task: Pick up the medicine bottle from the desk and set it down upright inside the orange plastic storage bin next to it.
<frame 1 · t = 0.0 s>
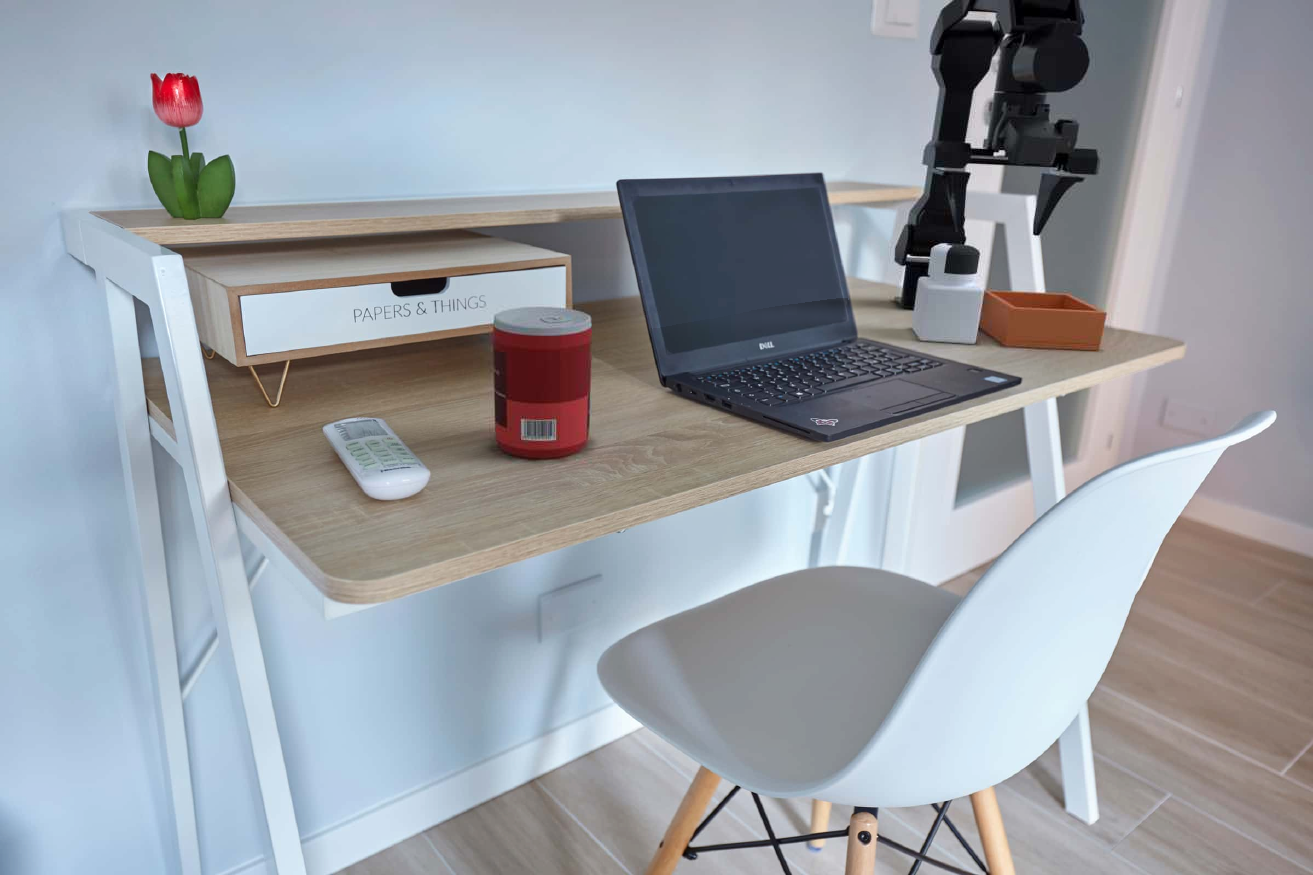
hand: (997, 233, 110), 15 cm above the table, tool pointing down, fingers open, 9 cm apart
medicine bottle: (942, 337, 123), on the table
canned food: (542, 446, 79), on the table
bin: (1034, 337, 125), on the table
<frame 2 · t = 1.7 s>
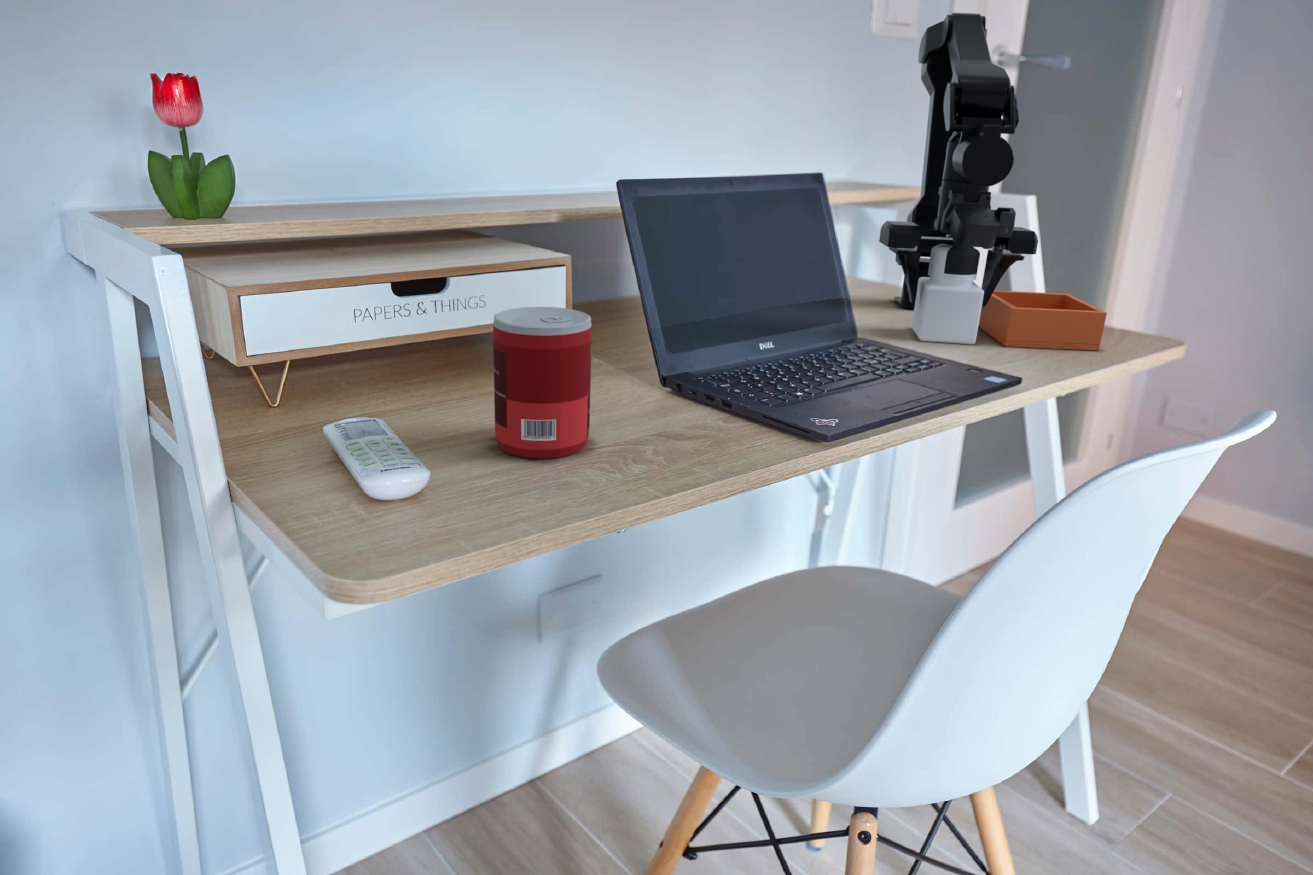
hand: (947, 304, 121), 4 cm above the table, tool pointing down
medicine bottle: (942, 338, 123), on the table, touching gripper
everything else where it was.
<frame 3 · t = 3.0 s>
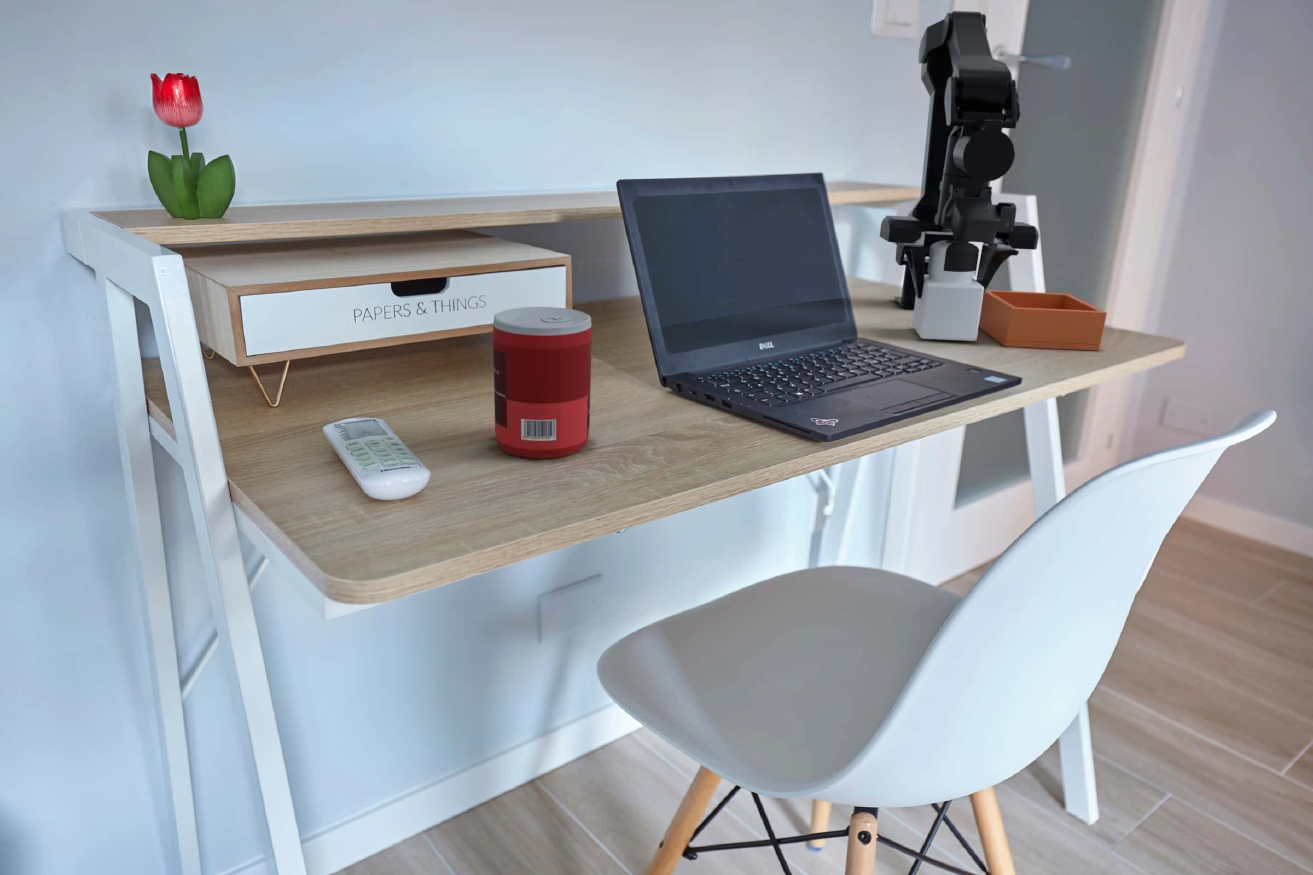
hand: (947, 299, 121), 5 cm above the table, tool pointing down, fingers closed on medicine bottle, 7 cm apart
medicine bottle: (943, 335, 123), on the table, touching gripper
everything else where it was.
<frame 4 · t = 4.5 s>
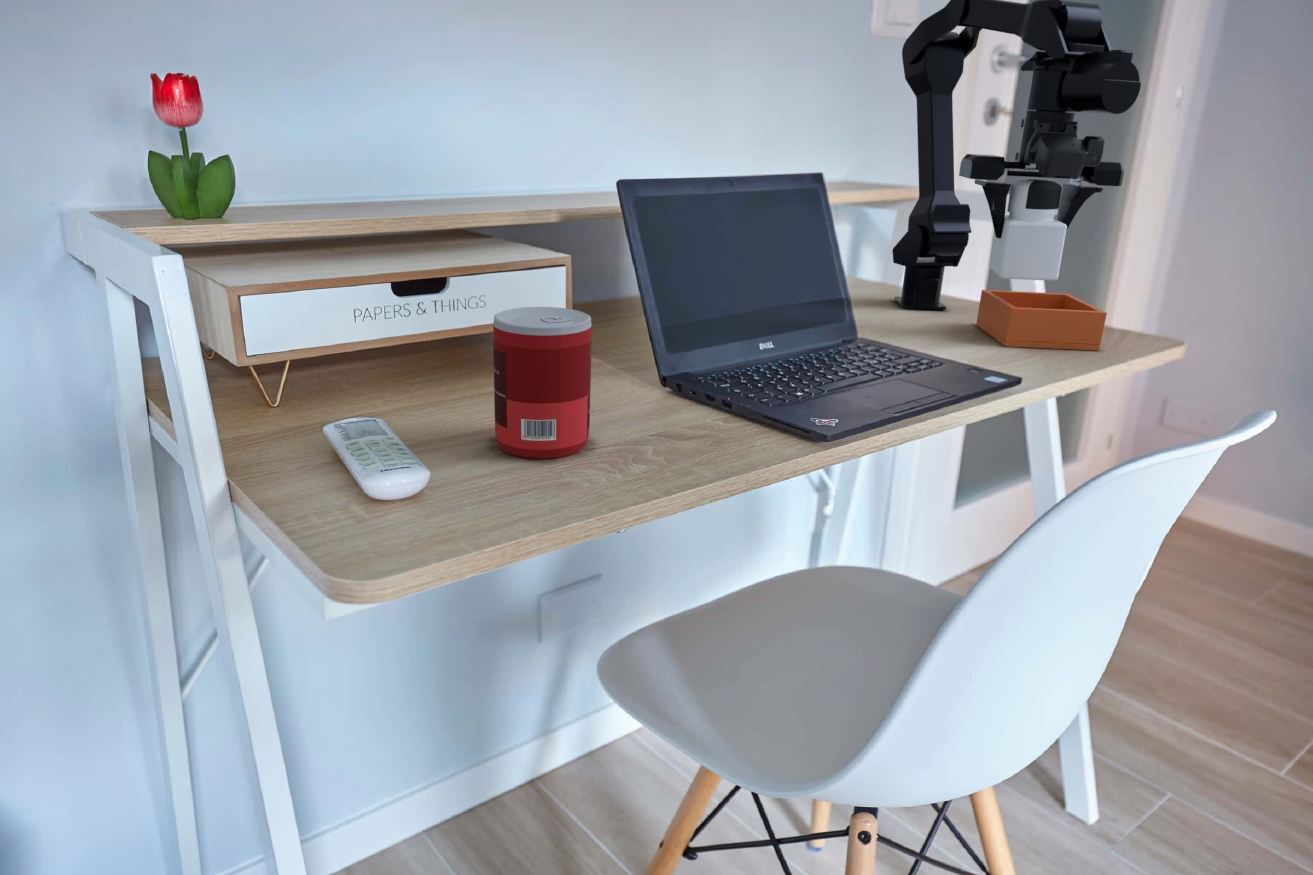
hand: (1027, 239, 120), 13 cm above the table, tool pointing down, fingers closed on medicine bottle, 7 cm apart
medicine bottle: (1022, 276, 122), point 8 cm above the table, touching gripper
everything else where it was.
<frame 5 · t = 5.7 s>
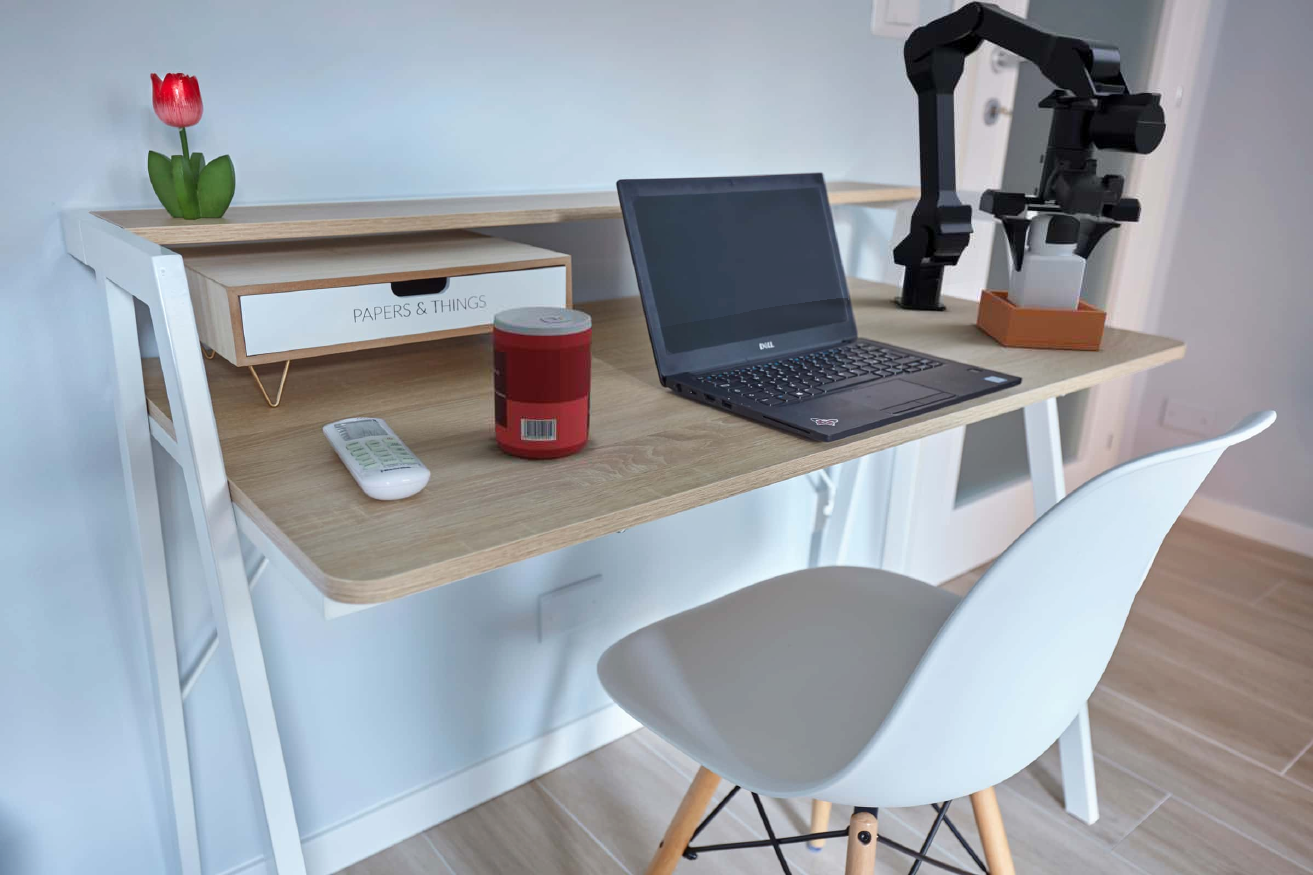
hand: (1046, 272, 122), 9 cm above the table, tool pointing down, fingers closed on medicine bottle, 7 cm apart
medicine bottle: (1040, 308, 124), point 4 cm above the table, touching gripper
everything else where it was.
when the fingers open (6 cm above the table, at t = 7.0 s): medicine bottle stays where it is, resting on bin.
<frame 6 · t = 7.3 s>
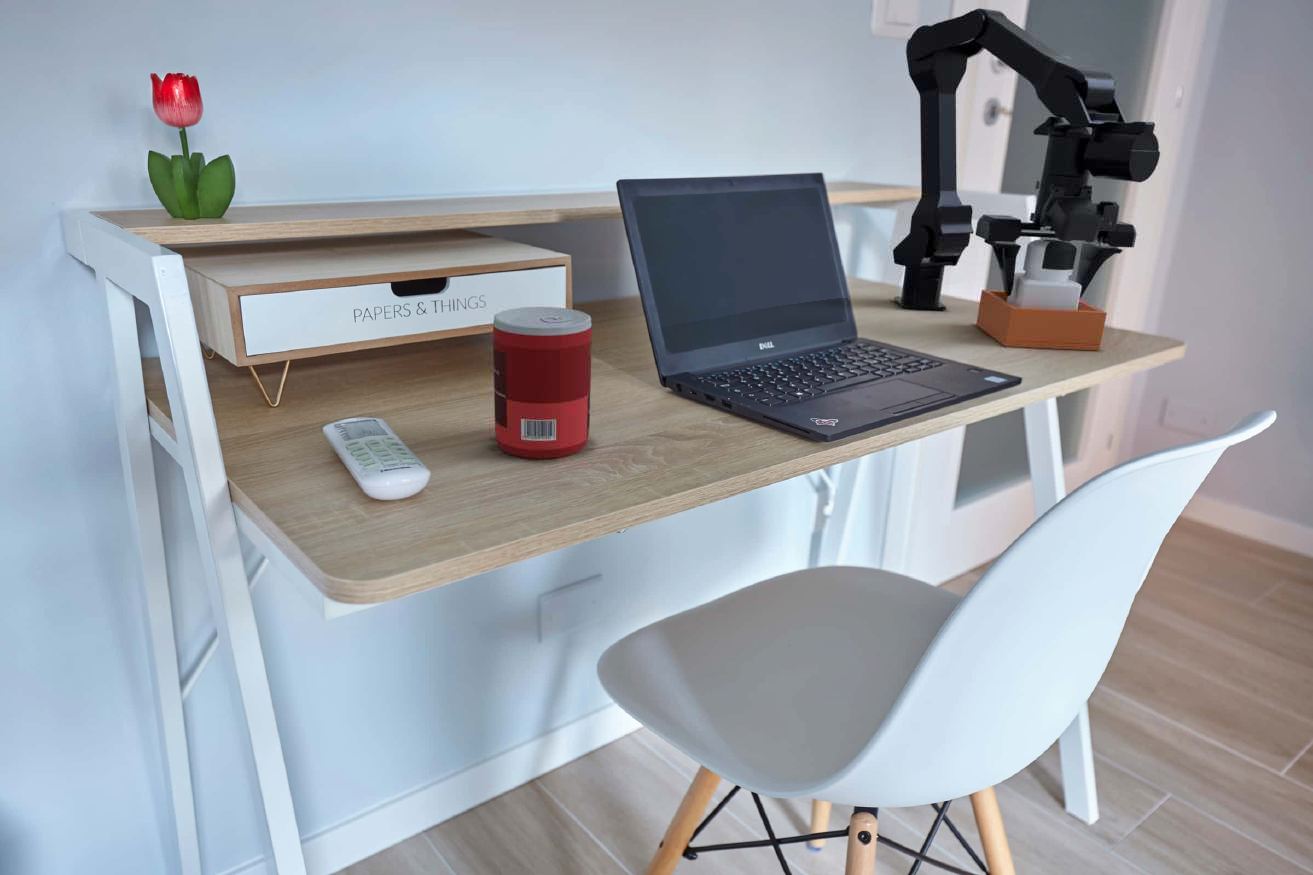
hand: (1042, 297, 123), 5 cm above the table, tool pointing down, fingers open, 9 cm apart
medicine bottle: (1035, 332, 125), point 1 cm above the table, touching bin
everything else where it was.
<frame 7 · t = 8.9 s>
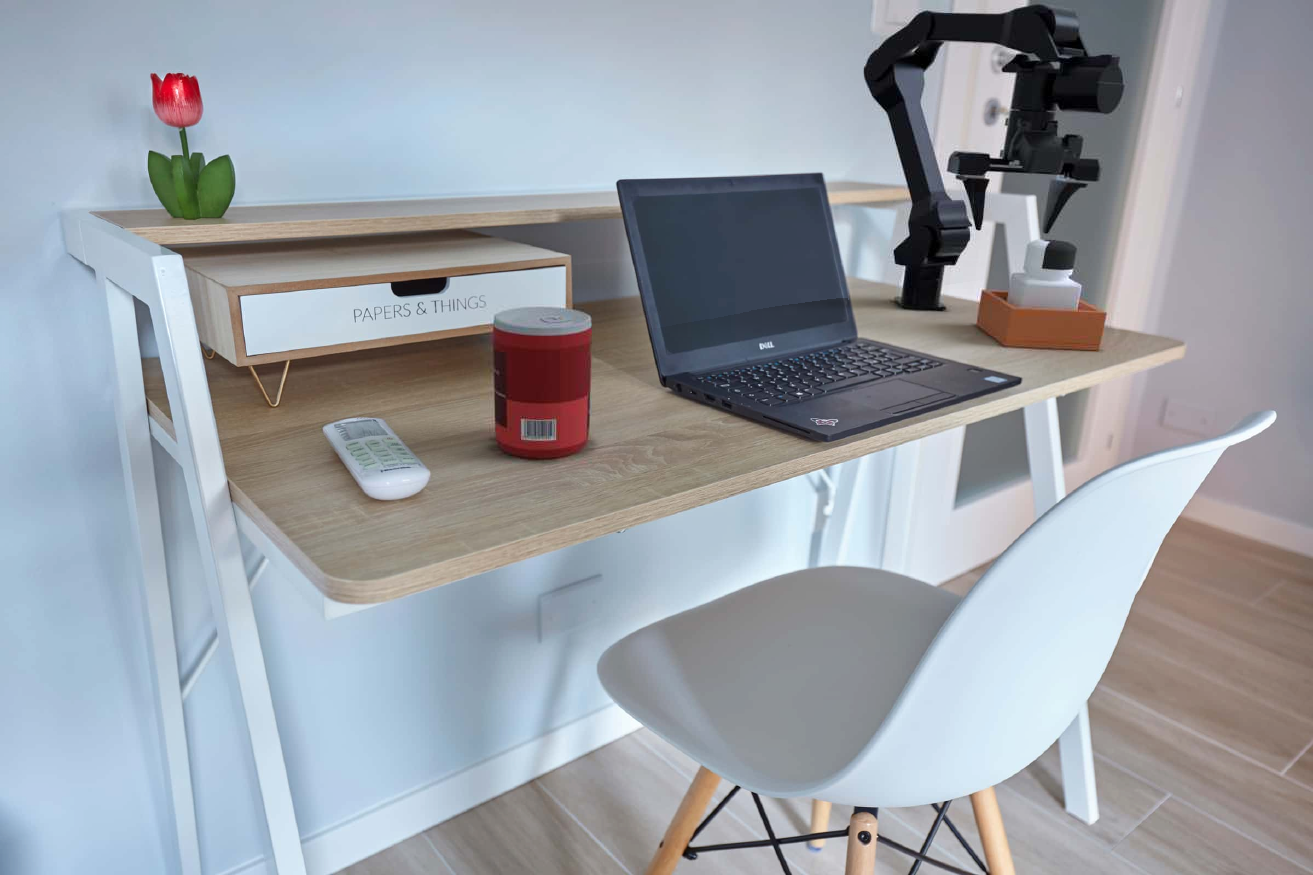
hand: (1011, 231, 127), 13 cm above the table, tool pointing down, fingers open, 9 cm apart
nothing on the table moved.
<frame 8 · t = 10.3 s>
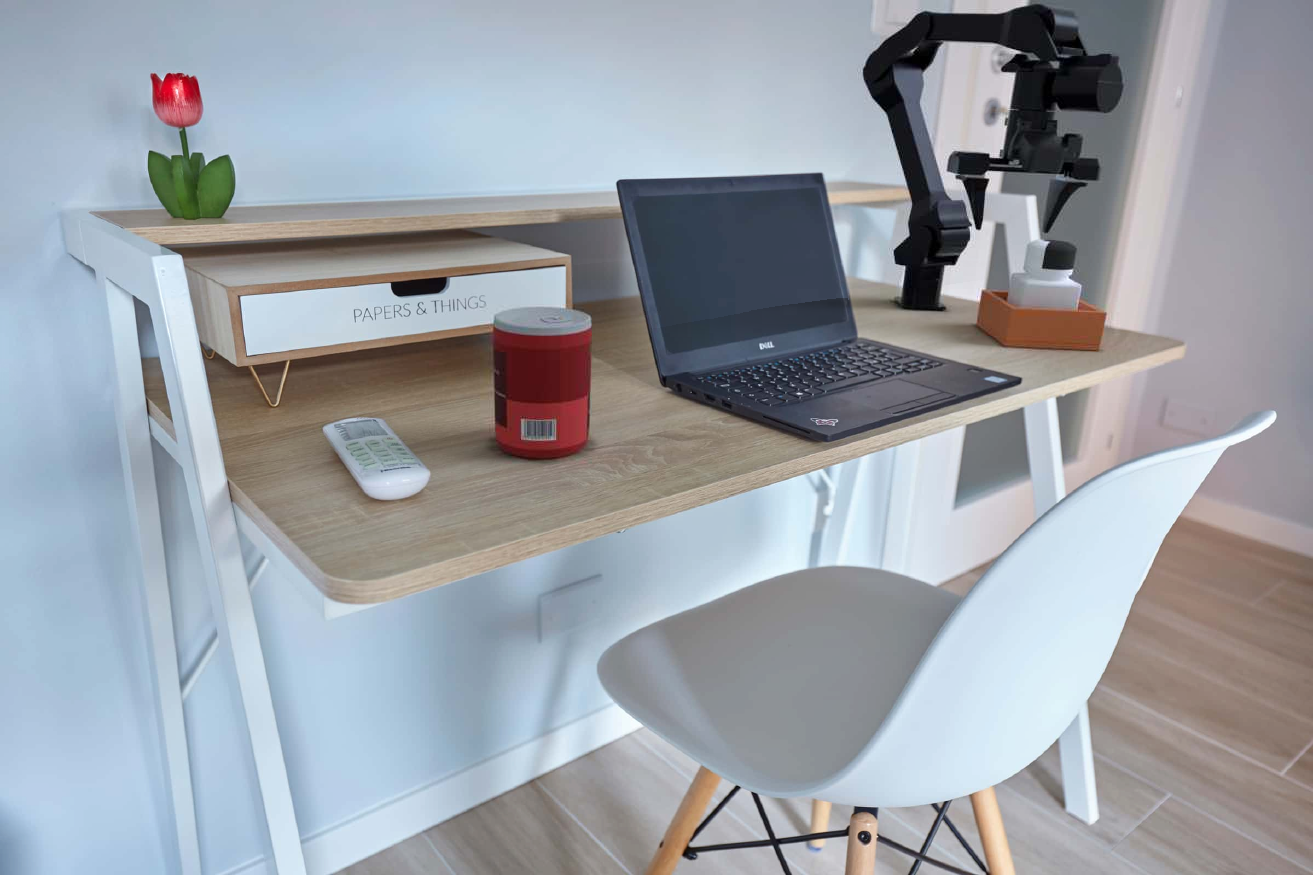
hand: (1011, 231, 127), 13 cm above the table, tool pointing down, fingers open, 9 cm apart
nothing on the table moved.
at the end: medicine bottle inside the target area in the bin (0.2 cm from its centre), point 0.6 cm above the bin's base; medicine bottle tilted 0°; the gripper is holding nothing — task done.
